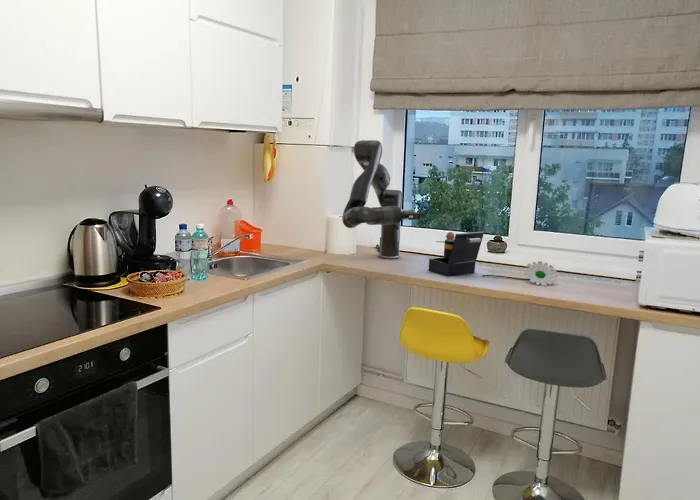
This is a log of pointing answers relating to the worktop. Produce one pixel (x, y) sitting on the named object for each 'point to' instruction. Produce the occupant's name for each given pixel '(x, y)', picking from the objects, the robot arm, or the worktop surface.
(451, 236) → the toy
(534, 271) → the flower
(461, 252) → the lid
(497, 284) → the worktop surface
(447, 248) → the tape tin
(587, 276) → the worktop surface
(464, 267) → the black box
